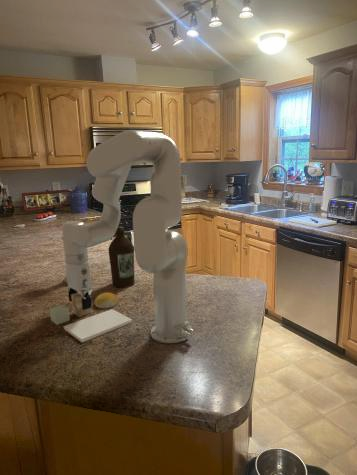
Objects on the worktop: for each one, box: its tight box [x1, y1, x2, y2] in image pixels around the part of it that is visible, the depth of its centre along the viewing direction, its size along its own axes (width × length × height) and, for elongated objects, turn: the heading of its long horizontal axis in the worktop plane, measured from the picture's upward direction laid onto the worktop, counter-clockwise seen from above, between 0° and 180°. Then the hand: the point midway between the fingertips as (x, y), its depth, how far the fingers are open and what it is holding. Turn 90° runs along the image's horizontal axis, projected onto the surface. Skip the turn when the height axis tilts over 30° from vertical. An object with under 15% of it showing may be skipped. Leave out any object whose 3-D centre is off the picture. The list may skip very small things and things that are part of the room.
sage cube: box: [49, 304, 71, 326], centre depth 118 cm, size 4×4×4 cm
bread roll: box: [93, 292, 118, 309], centre depth 131 cm, size 8×9×4 cm
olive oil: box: [108, 226, 135, 288], centre depth 149 cm, size 11×11×25 cm
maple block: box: [71, 291, 92, 318], centre depth 123 cm, size 4×4×7 cm
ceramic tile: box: [63, 309, 133, 343], centre depth 113 cm, size 12×18×1 cm, turn 133°
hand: (80, 304), depth 123 cm, fingers open, 9 cm apart
